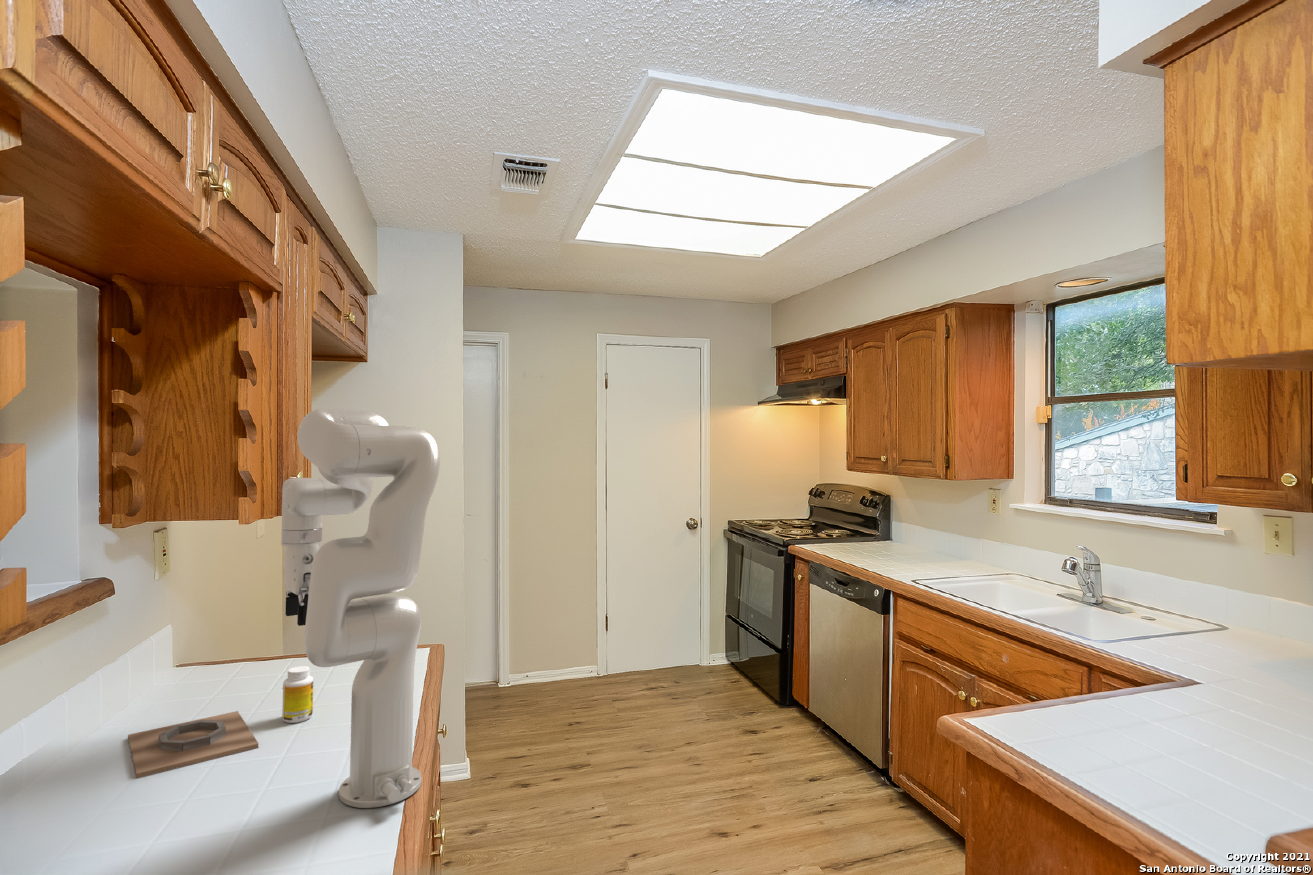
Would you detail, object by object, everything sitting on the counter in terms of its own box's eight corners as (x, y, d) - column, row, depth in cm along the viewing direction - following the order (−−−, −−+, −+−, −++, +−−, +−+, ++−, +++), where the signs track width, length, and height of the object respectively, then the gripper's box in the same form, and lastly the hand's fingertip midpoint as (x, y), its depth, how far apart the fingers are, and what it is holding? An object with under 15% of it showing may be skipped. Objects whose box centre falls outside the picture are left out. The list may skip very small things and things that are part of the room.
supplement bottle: (315, 719, 137) (316, 669, 138) (285, 726, 134) (286, 675, 134) (309, 711, 142) (310, 662, 142) (279, 717, 138) (280, 668, 138)
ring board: (258, 747, 124) (258, 735, 124) (136, 778, 112) (136, 764, 112) (237, 714, 139) (237, 703, 139) (127, 738, 127) (128, 726, 127)
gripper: (333, 540, 135) (331, 625, 134) (310, 531, 148) (308, 609, 147) (292, 543, 130) (290, 631, 129) (272, 534, 143) (270, 614, 142)
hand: (300, 619), depth 138 cm, fingers open, 9 cm apart
